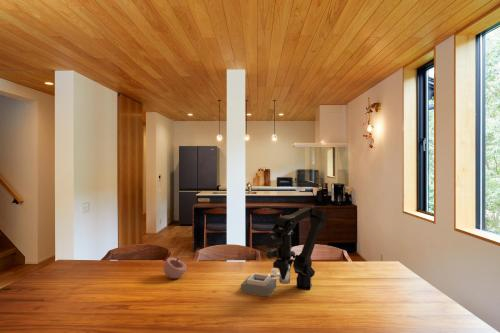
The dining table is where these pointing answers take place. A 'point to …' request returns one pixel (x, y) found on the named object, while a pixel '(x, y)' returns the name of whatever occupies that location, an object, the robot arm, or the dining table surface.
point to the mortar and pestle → (174, 267)
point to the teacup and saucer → (274, 273)
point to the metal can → (287, 278)
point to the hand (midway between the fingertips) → (284, 277)
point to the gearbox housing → (259, 285)
